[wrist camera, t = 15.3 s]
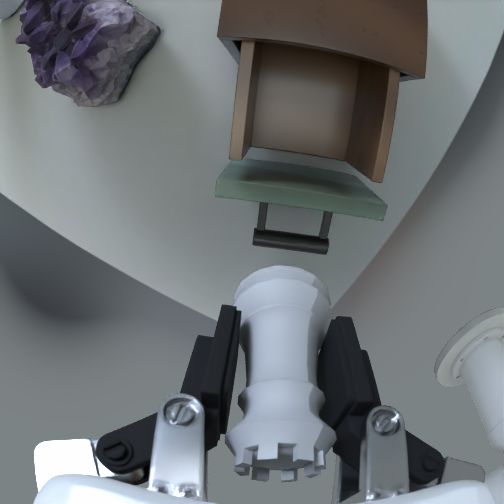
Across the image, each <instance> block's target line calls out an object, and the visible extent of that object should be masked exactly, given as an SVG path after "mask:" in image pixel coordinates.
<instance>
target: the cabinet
mask: <svg viewBox="0 0 504 504" xmlns="http://www.w3.org/2000/svg"><path fill="white" fill-rule="evenodd" d="M427 30H428V18H427V0H222V6H221V12H220V19H219V26H218V33H217V37H218V38H219V39H220V41H221V42H222V43H223V45H224V46H225V47H226V49H227V50H228V51H229V53H230V54H231V55H232V57H233V58H234V59H235V61H236V62H237V63H238V65H239V59H240V51H241V43H242V40H244V41H258V42H269V43H278V44H286V45H293V46H300V47H306V48H312V49H317V50H322V51H327V52H332V53H337V54H341V55H345V56H349V57H353V58H357V59H361V60H364V61H368V62H371V63H375V64H378V65H381V66H384V67H387V68H390V69H393V70H396V71H399V72H400V80H399V82H403V81H409V80H416V79H424V78H425V72H426V58H427Z"/></svg>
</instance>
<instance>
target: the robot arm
mask: <svg viewBox="0 0 504 504" xmlns="http://www.w3.org/2000/svg"><path fill="white" fill-rule="evenodd" d="M236 309H237V307H236V306H230V305H223V304H222V307H221V311H220V315H219V319H218V323H217V326H216V330H215V334H214V337H207V336H201V335H198V337H197V339H196V342H195V345H194V349H193V352H192V355H191V359H190V362H189V365H188V368H187V372H186V375H185V378H184V381H183V385H182V388H181V391H180V393H177V394H173V395H170V396H168V397H166V398H165V399H164V400H163V401H162V402H161V403H160V406H159V409H158V412H157V413H155V414H153V415H150V416H148V417H146V418H144V419H142V420H139V421H137V422H134V423H132V424H130V425H127V426H125V427H122V428H120V429H118V430H115V431H113V432H110V433H107V434H106V435H104V436H102V437H101V438H100V439H99V440H91V439H79V440H65V441H46V442H42V443H40V444H39V445H38V446H37V447H36V449H35V453H34V459H35V468H36V476H37V483H38V489H39V492H38V494H37V496H36V498H35V500H34V503H33V504H216V503H210V502H208V451H209V450H210V449H212V448H213V447H215V446H217V442H218V440H219V439H220V434H226V432H227V425H228V418H229V412H230V405H231V399H232V392H233V385H234V378H235V372H236V365H237V357H238V346H239V335H240V324H241V313H242V311H240V310H236ZM451 374H452V376H453V378H454V379H455V380H458V381H463V380H464V382H465V384H466V386H467V388H468V391H469V393H470V395H471V397H472V400H473V402H474V404H475V407H476V409H477V412H478V414H479V417H480V419H481V422H482V424H483V427H484V430H485V432H486V435H487V438H488V441H489V443H490V445H491V447H492V448H493V449H495V450H496V451H499V452H502V453H504V330H503V329H502V328H499V327H498V328H492V329H489V330H487V331H485V332H483V333H481V334H480V335H478V336H477V337H475V338H474V339H473V340H472V341H471V342H469V343H468V344H467V345H466V346H465V347H464V348H463V349H462V351H461V352H460V353H459V354H458V356H457V357H456V359H455V360H454V362H453V365H452V367H451ZM317 384H318V389H320V390H321V391H322V392H323V393H324V397H325V403H324V405H323V407H322V409H321V410H320V411H319V418H320V419H321V420H323V421H324V422H325V423H326V424H327V425H328V426H329V427H330V428H332V429H333V430H334V431H335V433H336V437H337V440H336V442H335V443H334V444H333V446H332V447H333V452H334V453H335V454H336V464H335V475H334V486H333V495H332V503H331V504H504V464H503V465H502V466H500V467H499V468H497V469H496V470H494V471H493V472H491V473H490V474H488V475H486V476H485V471H484V469H483V468H482V467H481V466H480V465H477V464H474V463H469V462H466V461H462V460H458V459H454V458H450V457H446V458H443V457H442V455H441V453H440V452H438V451H437V450H436V449H434V448H432V447H431V446H430V445H428V444H426V443H425V442H423V441H422V440H420V439H419V438H417V437H415V436H414V435H412V434H411V433H409V432H408V431H406V430H405V424H404V420H403V417H402V415H401V414H400V412H399V411H398V410H396V409H395V408H393V407H391V406H386V405H381V401H380V397H379V393H378V390H377V385H376V381H375V378H374V374H373V371H372V367H371V363H370V360H369V356H368V353H367V351H366V350H361V348H360V345H359V341H358V338H357V334H356V331H355V327H354V324H353V321H352V318H351V317H342V316H337V317H336V319H335V320H333V319H332V320H331V322H330V324H329V327H328V330H327V333H326V336H325V339H324V342H323V344H322V347H321V350H320V353H319V355H318V368H317ZM147 481H149V483H148V489H145V488H142V487H138V486H134V485H139V484H142V483H145V482H147Z"/></svg>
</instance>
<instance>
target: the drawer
mask: <svg viewBox="0 0 504 504" xmlns="http://www.w3.org/2000/svg"><path fill="white" fill-rule="evenodd" d="M399 80H400V72H399V71H396V70H393V69H390V68H387V67H384V66H381V65H378V64H375V63H371V62H368V61H364V60H361V59H357V58H353V57H349V56H345V55H341V54H337V53H332V52H327V51H322V50H317V49H312V48H306V47H300V46H293V45H286V44H278V43H269V42H258V41H244V40H242V43H241V51H240V59H239V68H238V76H237V85H236V94H235V104H234V113H233V123H232V133H231V144H230V155H229V159H231V160H232V161H231V162H230V163H229V165H228V166H227V167H226V168H225V169H224V170H223V172H222V173H221V174H220V175H219V176H218V178H217V179H216V186H215V197H221V198H231V199H239V200H248V201H256V202H260V207H259V215H258V224H257V228H254V235H253V243H252V245H253V246H261V247H269V248H277V249H285V250H293V251H300V252H308V253H316V254H323V255H326V254H327V252H328V247H329V239H328V238H327V236H328V232H329V227H330V223H331V218H332V214H333V212H334V213H340V214H346V215H352V216H358V217H364V218H369V219H375V220H380V221H383V220H384V217H385V213H386V209H387V204H386V203H385V202H384V201H383V200H382V199H380V198H379V197H378V196H377V195H376V194H375V193H374V192H373V191H372V190H370V189H369V188H368V187H367V186H366V185H365V184H364V183H362V182H361V181H360V180H359V179H358V178H357V177H355V176H354V175H349V174H344V173H339V172H333V171H328V170H322V169H316V168H310V167H304V166H297V165H291V164H284V163H276V162H269V161H260V160H252V159H243V158H244V156H245V155H246V153H247V152H248V150H249V149H250V147H257V148H266V149H274V150H281V151H288V152H295V153H302V154H308V155H314V156H320V157H325V158H331V159H336V160H341V161H346V162H347V163H348V164H350V165H351V166H353V167H354V168H355V169H357V170H358V171H359V172H361V173H362V174H363V175H365V176H366V177H367V178H369V179H370V180H371V181H373V182H378V183H382V181H383V177H384V172H385V167H386V163H387V158H388V153H389V147H390V142H391V136H392V130H393V124H394V118H395V111H396V104H397V97H398V89H399ZM268 203H272V204H280V205H287V206H294V207H301V208H308V209H315V210H321V211H324V213H323V218H322V223H321V228H320V232H319V236H312V235H305V234H298V233H290V232H283V231H275V230H267V229H265V223H266V215H267V208H268Z"/></svg>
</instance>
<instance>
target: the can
mask: <svg viewBox="0 0 504 504" xmlns="http://www.w3.org/2000/svg"><path fill="white" fill-rule="evenodd" d="M23 2H24V0H0V19H6V18H8V17H9V16H10V15H11V14H13V13H14V12H15V11H17V10H18V8H19V7H20V6H21V5H22V3H23Z"/></svg>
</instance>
